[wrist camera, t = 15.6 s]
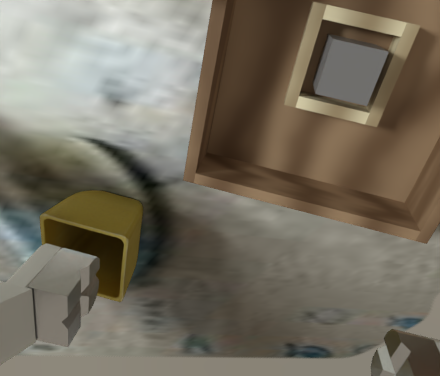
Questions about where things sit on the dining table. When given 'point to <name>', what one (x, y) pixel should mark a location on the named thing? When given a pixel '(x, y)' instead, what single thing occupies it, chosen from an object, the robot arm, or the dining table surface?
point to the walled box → (322, 112)
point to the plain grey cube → (348, 69)
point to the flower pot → (98, 234)
